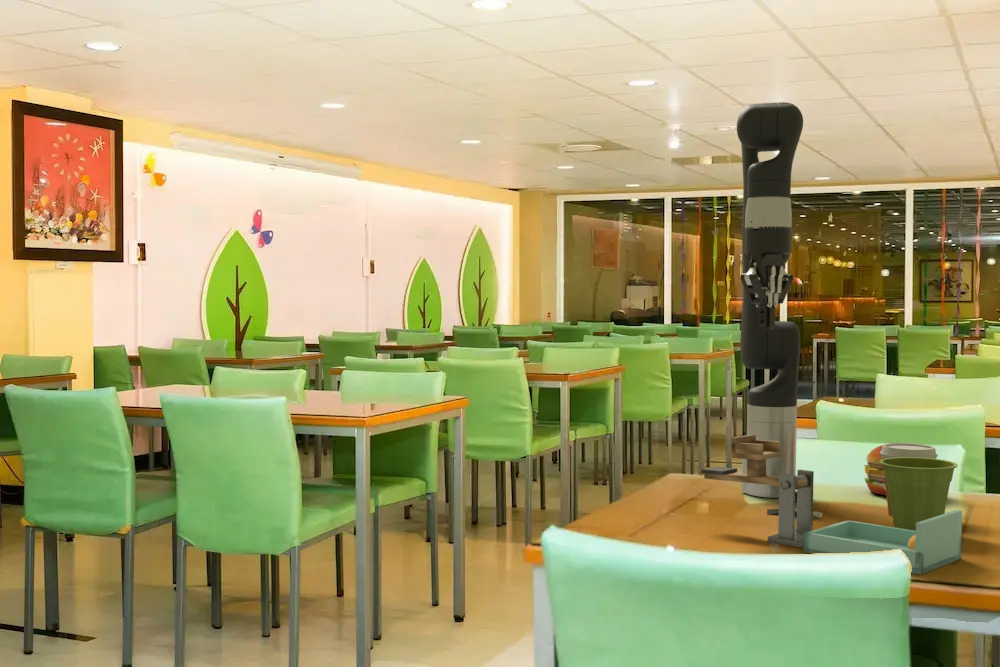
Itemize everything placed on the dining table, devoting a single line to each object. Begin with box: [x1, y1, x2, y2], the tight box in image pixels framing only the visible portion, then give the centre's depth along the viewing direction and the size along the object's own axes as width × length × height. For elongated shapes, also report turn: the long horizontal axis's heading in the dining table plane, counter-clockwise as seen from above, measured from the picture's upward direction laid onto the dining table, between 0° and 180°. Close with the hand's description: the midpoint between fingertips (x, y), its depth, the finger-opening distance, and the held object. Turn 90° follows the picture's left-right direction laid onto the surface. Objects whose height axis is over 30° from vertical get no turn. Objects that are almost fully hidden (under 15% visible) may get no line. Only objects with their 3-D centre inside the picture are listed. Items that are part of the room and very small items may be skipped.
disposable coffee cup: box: [880, 442, 939, 515], centre depth 191 cm, size 10×10×12 cm
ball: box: [908, 535, 916, 550], centre depth 156 cm, size 3×3×3 cm
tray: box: [803, 509, 963, 576], centre depth 160 cm, size 18×14×7 cm
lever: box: [700, 434, 809, 491], centre depth 175 cm, size 17×6×8 cm, turn 45°
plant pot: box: [880, 457, 959, 531], centre depth 178 cm, size 12×12×11 cm
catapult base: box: [767, 469, 815, 549], centre depth 170 cm, size 6×8×11 cm
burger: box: [863, 442, 890, 497], centre depth 212 cm, size 14×14×10 cm
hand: (766, 330), depth 183 cm, fingers closed
